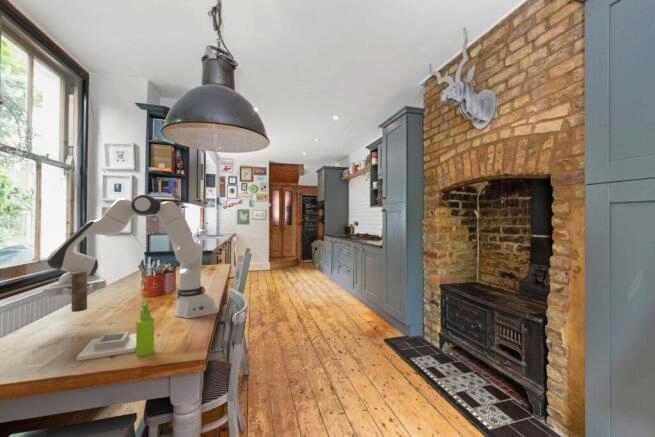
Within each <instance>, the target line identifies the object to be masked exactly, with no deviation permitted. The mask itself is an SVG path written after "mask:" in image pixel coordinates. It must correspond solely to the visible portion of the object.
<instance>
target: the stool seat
mask: <svg viewBox="0 0 655 437" xmlns="http://www.w3.org/2000/svg"><path fill="white" fill-rule="evenodd" d="M129 353H136V333H131V334H130V331H121V332H115V333H106V334H101V335H100V337H99V338H93V339H91V340H90V341H89V342H88V343H87V345H86V346H85V347H84V348H83V349H82V350H81V351H80V352H79V354H78V355H76V362H78V361H84V360H86V361H87V360H90V359H91V360H92V359H97V358H105V357H110V356H111V355H112V356H116V355H117V356H118V355H123V354H129Z"/></svg>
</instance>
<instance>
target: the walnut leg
mask: <svg viewBox="0 0 655 437" xmlns="http://www.w3.org/2000/svg"><path fill="white" fill-rule="evenodd" d="M71 289H72V294H71V295H70V296H71V312H72V313H75V312H76V313H79V312H82V311H86V310H87V309H88V291H87V272H85V271H83V272H74V273H71Z"/></svg>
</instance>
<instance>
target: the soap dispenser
mask: <svg viewBox="0 0 655 437" xmlns="http://www.w3.org/2000/svg"><path fill="white" fill-rule="evenodd" d="M141 308H142V310H140V312H139V314H140V315H139V316H140V318H138V319H137V320H136V322H135V323H136V325H135V326H136V328H135V329H136V333H135V334H136V350H135V353H136V354H135V355H136V356H137V357H147V356H150V355H152V354H153V353H154V352H155V317H153V316H151V309H149V301H143V302H142V304H141Z"/></svg>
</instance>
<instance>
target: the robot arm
mask: <svg viewBox="0 0 655 437" xmlns="http://www.w3.org/2000/svg"><path fill="white" fill-rule="evenodd" d="M135 216H140V217H143V218H144V217H146V218H151V217H155V216H156V217H158V219H159V220H160V222H161V224H162V226H163V228H164V230H165V232H166V233H167V236H168V238H169V240H170V243H171V247H172V249H173V252H174V254H175V255H174V256H175V259H176V261H177V262H178V263H180V265H179V271H178V287H177V290H176V291H177V292H176V294H177V296H176V297H177V305H176V308H175V312H174V316H175V317H178V318H184V319H193V318H200V317H204V316H211V315H216V314H218V313H219V312H220V307H219V306H218V305H217V304H216V302H215V300H214V298H213V297H212V296H211V295H209V294H208V293H206V288H205V287H204V286H202V284H201V280H202V279H201V277H202V275H201V273H202V266H203V264H202V262H203V251H204V249H203V247H202V245H201V244H200V243H199V242H197V241H195V240H194V238H193V234H192V232H191V231H192V230H191V228H190V226H189V224H188V222H187V220H186V218H185V216H184V214H183V212H182V211H181V209H180V208H179V207H178V205H177V204H176V202H174V201H171V200H168V201H167V200H166V201H163V202H160V201H159V200H157V199H156V198H155V197H153V196H151V195H149V194H138V195H136V196H135V197H134V198H132V199H131V200H129V199H127V198H117V199H116V200H115V201H114V202H113V203H111V205H109V207H108V208H107V209H106V210H105V212H104V213H103V214H102V215H101V216H100V217H99V218H97V219H94V220H93V219H91V220H88V221H86V223H84V224H83V225H82V226H81V227H79V228H78V229H77V230H76V231H75V232H74V233H73V234H72V235H71V236H70V237H68V239H66V240H65V241H64V242H63V243H62V244H61V245H60V246H58V247H57V248H56V249H54V250H53V251H52V252H51V253H50V254H48V255H49V256H48V257H47V259H46V262H47V265H48V266H49V267H50V268H51V269H55V270H60V271H63V272H65V273H63V274H62V275H60V277H59V279H58V282H57V284H51V285H47V286H46V287H45V288H43V289H42V292H44V296H45V297H46V298H50V297H56V296H62V295H63V296H64V295H67V296H72V295H71V294H72V289H71V273H74V272H83V271H85V272H87V292H89V291H93V290H101V289H105V288H107V280H106V279H105V278H103V277H99V275H98V274H97V275H95V273H96V272H97V270H98V268H99V262H98V259H97V257H94V256H91V255H87V254H84V253H81V252H78V251H75V250H73V249H75V247H76V246H78V244H80V242H81V241H83V240H84V239H85V238H86V237H88V236H91V235H92V236H94V235H99V236H102V235H103V236H115V235H118V234H120V233H121V232H122V231H124V229H125V228H126V227H127V225H128V224H129V223H130V221H131V220H132V218H134V217H135Z"/></svg>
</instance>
